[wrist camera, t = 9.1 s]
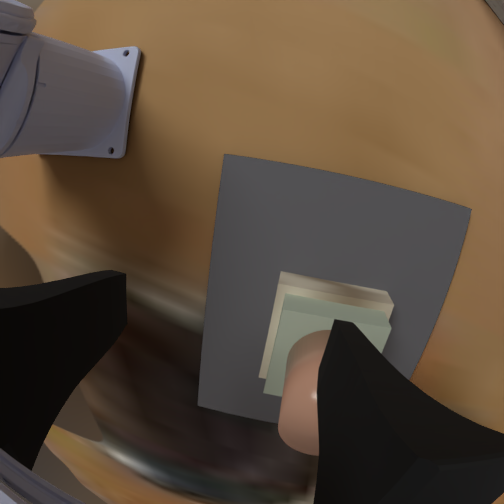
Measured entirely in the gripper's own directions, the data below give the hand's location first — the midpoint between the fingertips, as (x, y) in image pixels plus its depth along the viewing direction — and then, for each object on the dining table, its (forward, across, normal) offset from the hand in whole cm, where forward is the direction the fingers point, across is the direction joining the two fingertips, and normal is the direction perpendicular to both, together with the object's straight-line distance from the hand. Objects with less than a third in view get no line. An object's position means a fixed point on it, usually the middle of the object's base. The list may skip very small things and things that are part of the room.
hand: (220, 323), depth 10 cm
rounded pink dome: (+6, -5, +5) cm, 9 cm away
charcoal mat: (+10, -5, +5) cm, 13 cm away
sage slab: (+8, -5, +5) cm, 11 cm away
